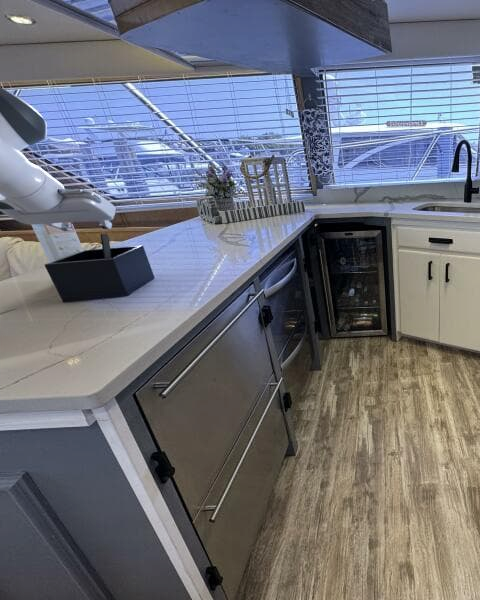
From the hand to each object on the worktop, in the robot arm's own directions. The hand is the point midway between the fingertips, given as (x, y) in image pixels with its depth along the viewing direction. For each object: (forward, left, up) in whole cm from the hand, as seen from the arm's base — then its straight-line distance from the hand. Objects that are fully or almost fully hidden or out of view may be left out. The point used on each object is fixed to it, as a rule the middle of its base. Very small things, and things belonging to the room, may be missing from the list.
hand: (88, 228), depth 83 cm
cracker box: (-15, +10, -17) cm, 25 cm away
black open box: (0, -1, -17) cm, 17 cm away
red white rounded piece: (0, -1, -15) cm, 15 cm away
